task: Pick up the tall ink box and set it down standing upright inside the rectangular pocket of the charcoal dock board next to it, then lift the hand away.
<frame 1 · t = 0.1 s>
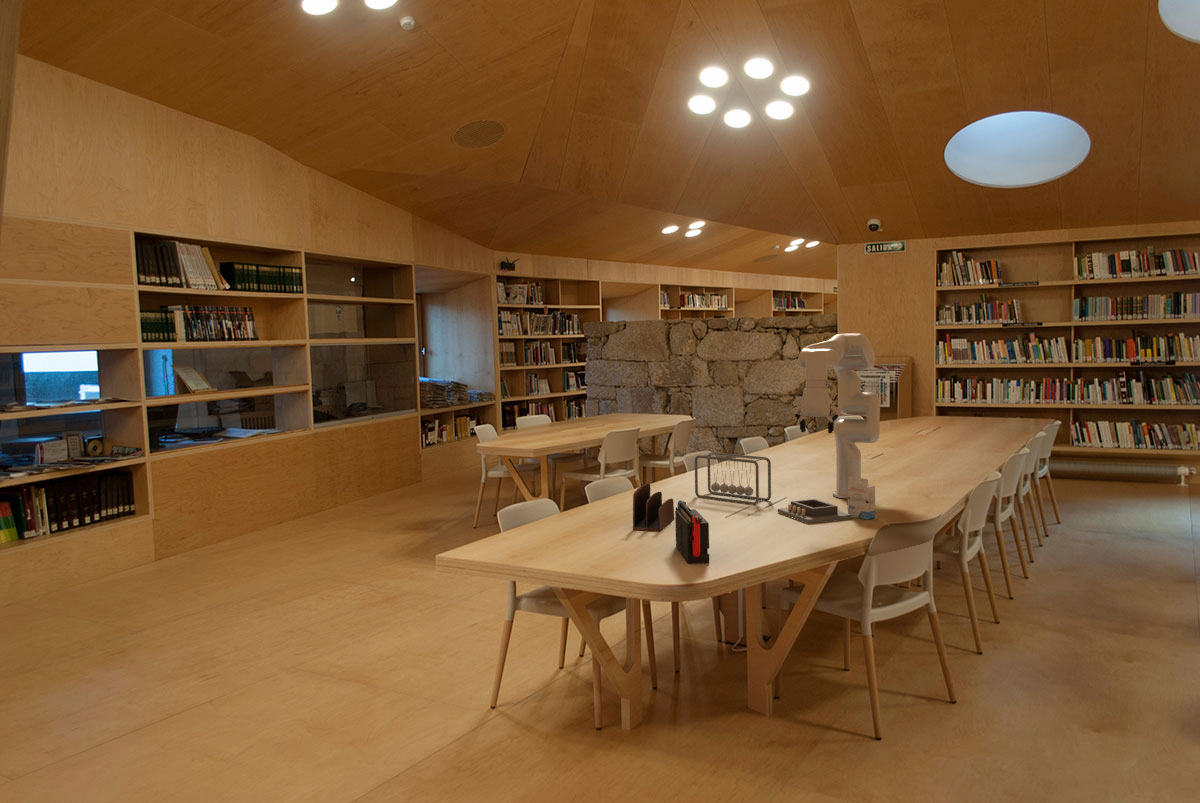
hand: (816, 432, 290), 31 cm above the table, tool pointing down, fingers open, 9 cm apart
ink box: (861, 517, 292), on the table
letter holder: (654, 525, 289), on the table
dock board: (813, 515, 297), on the table
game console: (692, 555, 248), on the table
newton's cradle: (732, 499, 331), on the table
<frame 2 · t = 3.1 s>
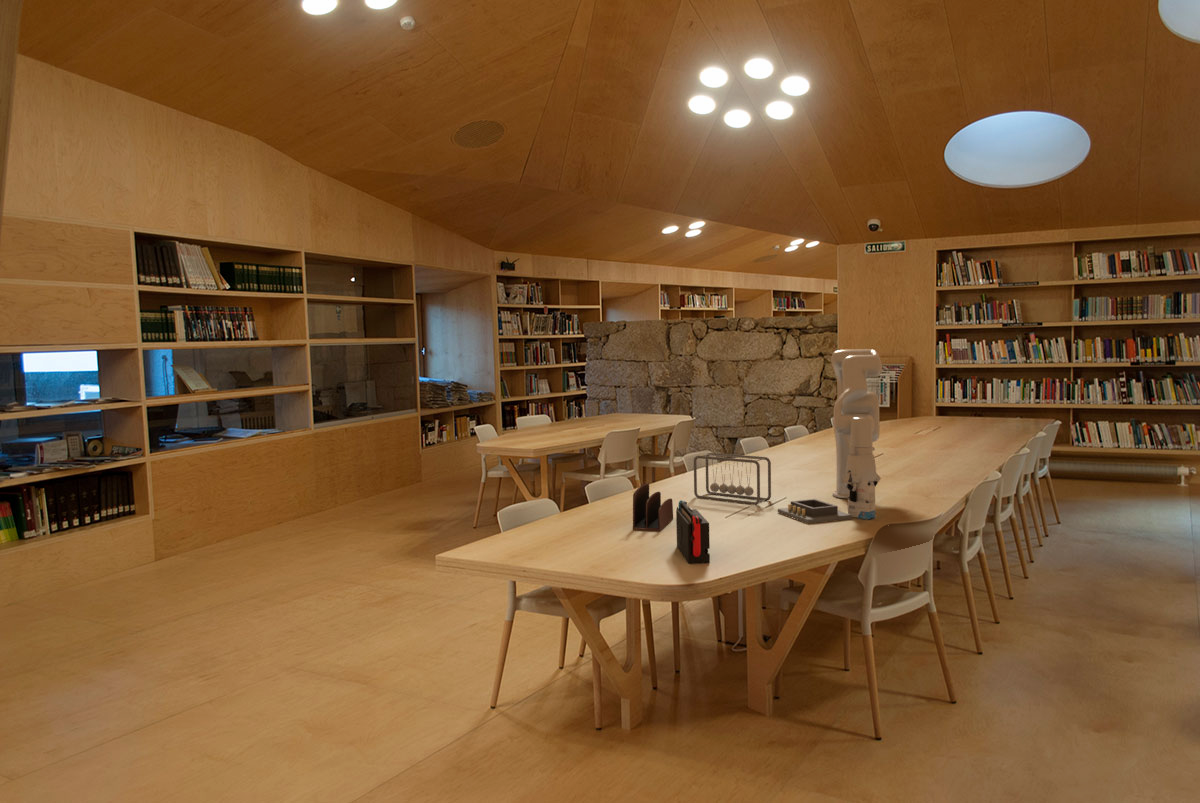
hand: (861, 500, 292), 6 cm above the table, tool pointing down, fingers closed on ink box, 6 cm apart
ink box: (861, 517, 292), on the table, touching gripper
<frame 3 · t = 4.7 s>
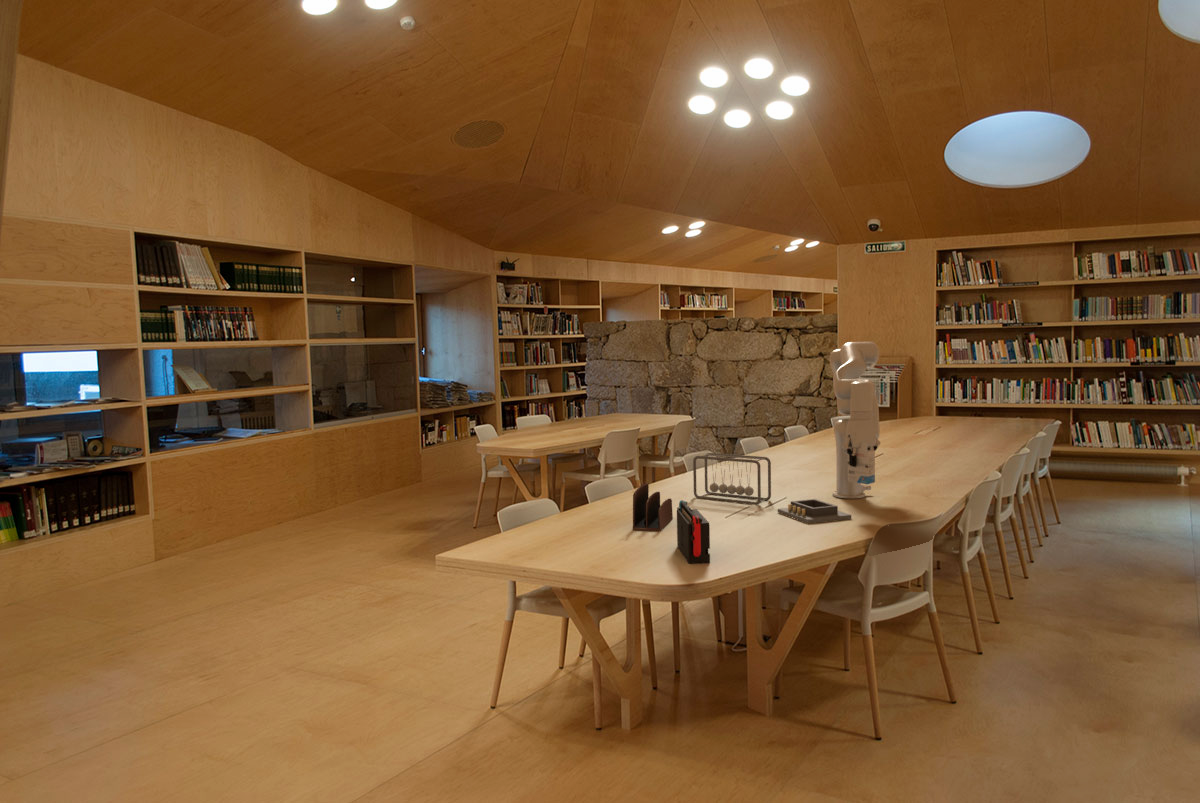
hand: (861, 464, 292), 19 cm above the table, tool pointing down, fingers closed on ink box, 6 cm apart
ink box: (861, 482, 292), point 12 cm above the table, touching gripper
everything else where it was.
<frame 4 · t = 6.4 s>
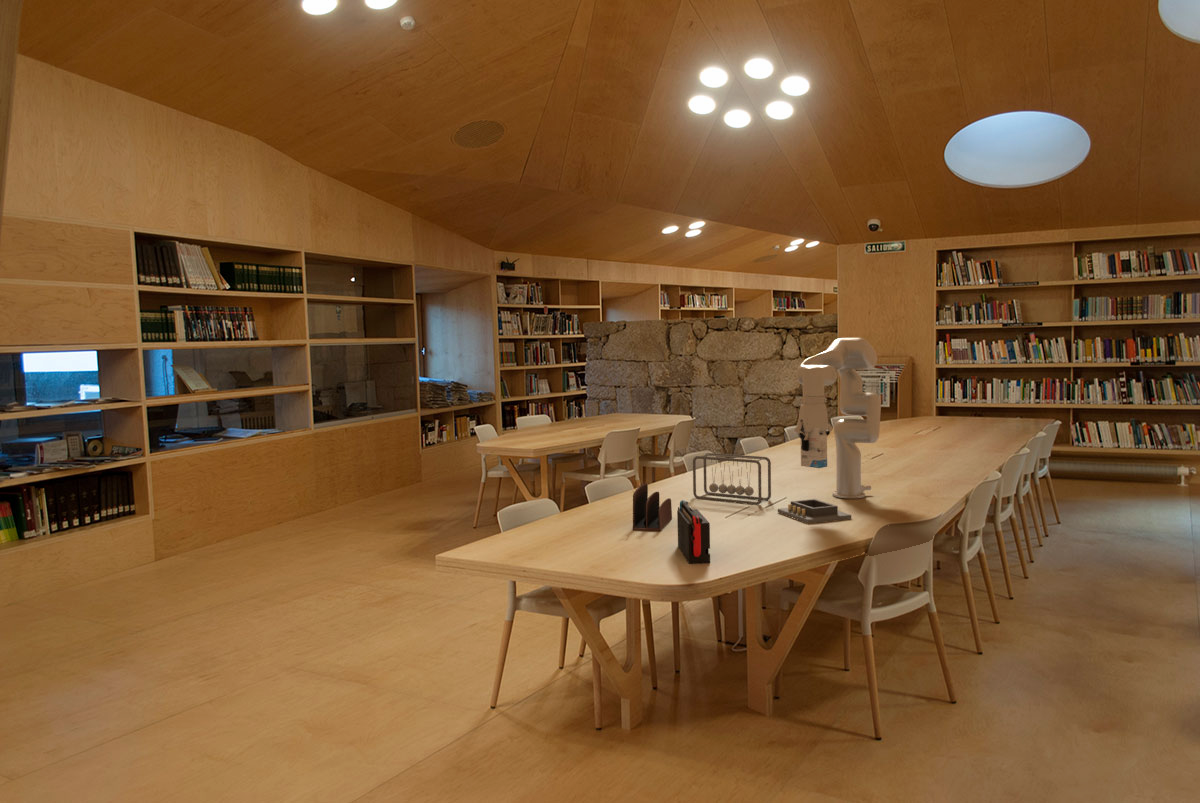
hand: (813, 449, 295), 24 cm above the table, tool pointing down, fingers closed on ink box, 6 cm apart
ink box: (814, 467, 295), point 18 cm above the table, touching gripper
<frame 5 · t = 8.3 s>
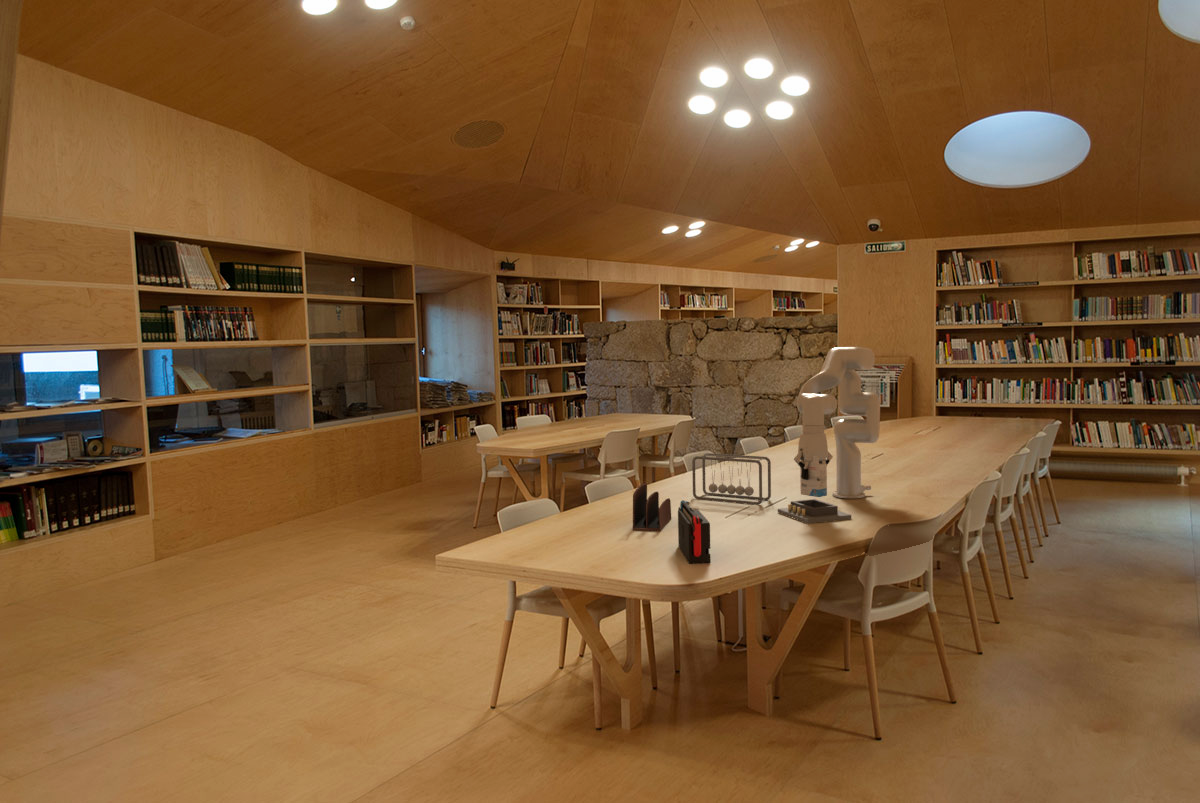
hand: (813, 478, 295), 14 cm above the table, tool pointing down, fingers closed on ink box, 6 cm apart
ink box: (813, 495, 296), point 7 cm above the table, touching gripper
when the fingers open (8 cm above the table, at t = 9.9 s): ink box stays where it is, resting on dock board.
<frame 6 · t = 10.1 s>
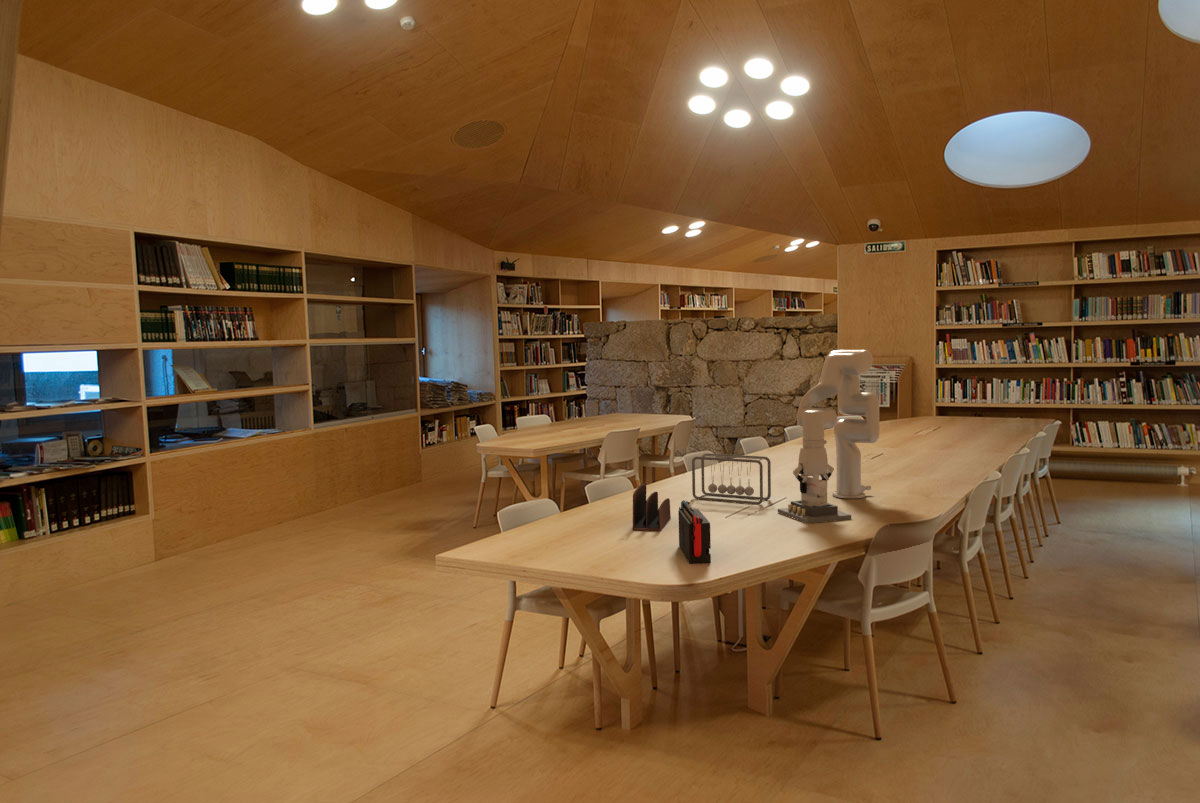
hand: (813, 491, 296), 9 cm above the table, tool pointing down, fingers open, 8 cm apart
ink box: (814, 512, 297), point 1 cm above the table, touching dock board
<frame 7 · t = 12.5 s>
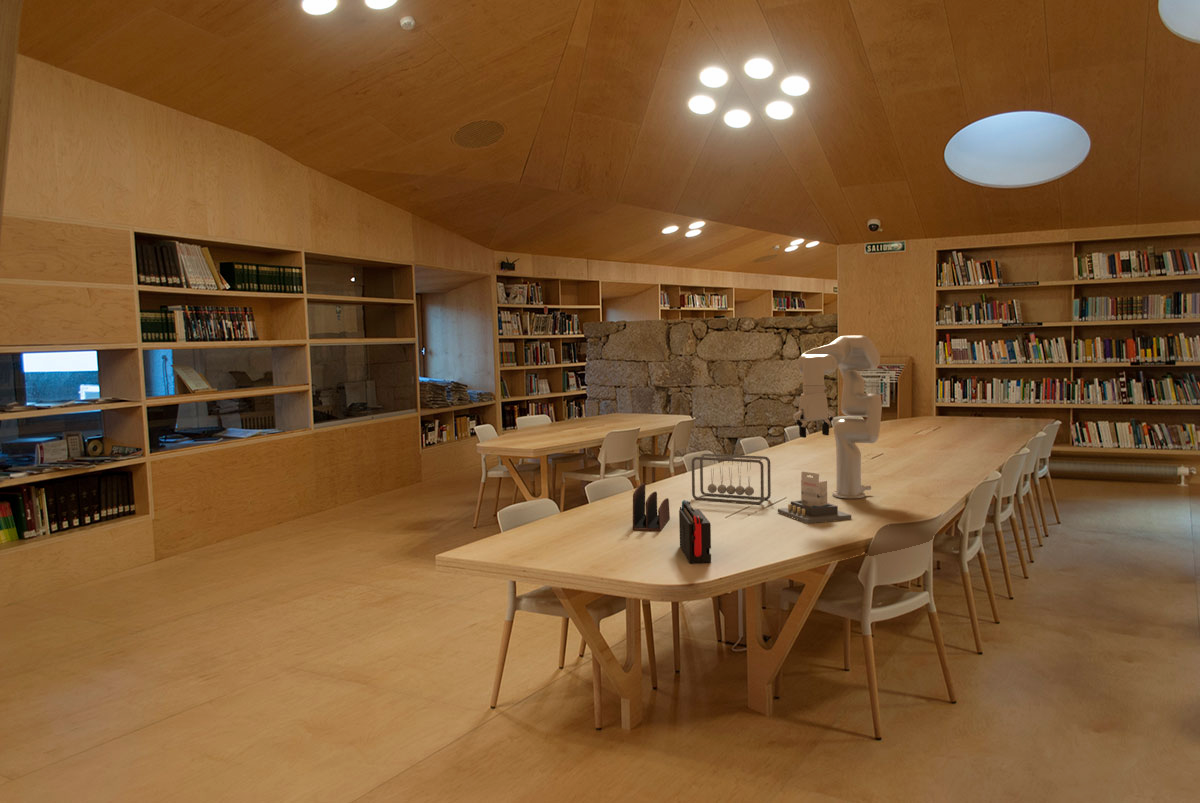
hand: (814, 436, 298), 29 cm above the table, tool pointing down, fingers open, 9 cm apart
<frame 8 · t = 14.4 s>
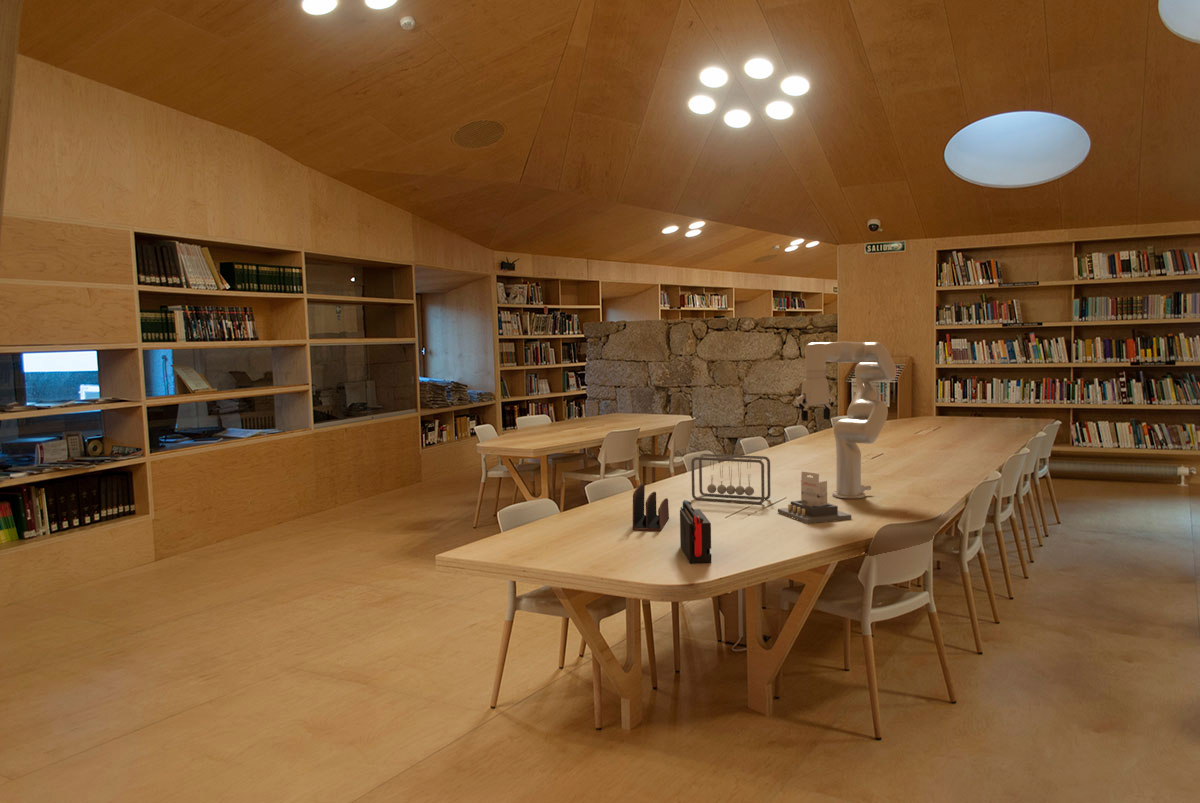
hand: (815, 419, 312), 33 cm above the table, tool pointing down, fingers open, 9 cm apart
at the end: ink box 0.3 cm off-centre on the dock board, point 1.3 cm above the dock board's base; ink box tilted 0°; the gripper is holding nothing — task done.
